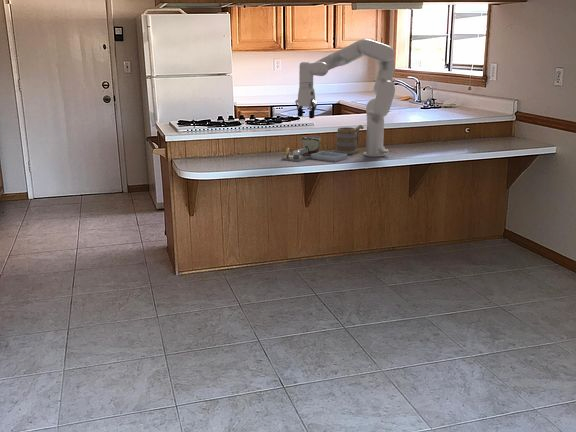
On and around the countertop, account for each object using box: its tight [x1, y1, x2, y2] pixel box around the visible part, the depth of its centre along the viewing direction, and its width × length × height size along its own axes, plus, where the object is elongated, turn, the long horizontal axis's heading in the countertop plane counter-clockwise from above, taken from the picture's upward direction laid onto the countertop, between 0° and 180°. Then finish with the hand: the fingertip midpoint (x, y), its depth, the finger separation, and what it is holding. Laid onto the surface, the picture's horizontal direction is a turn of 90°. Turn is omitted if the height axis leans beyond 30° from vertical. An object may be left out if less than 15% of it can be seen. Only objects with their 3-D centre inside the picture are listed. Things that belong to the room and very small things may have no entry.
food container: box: [300, 135, 322, 156], centre depth 348 cm, size 12×6×10 cm, turn 59°
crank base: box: [281, 147, 312, 163], centre depth 334 cm, size 13×12×6 cm
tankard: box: [334, 124, 364, 155], centre depth 353 cm, size 20×13×15 cm, turn 126°
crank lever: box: [292, 146, 309, 157], centre depth 337 cm, size 13×4×5 cm, turn 142°
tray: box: [310, 150, 348, 163], centre depth 334 cm, size 16×12×2 cm
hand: (305, 117), depth 332 cm, fingers open, 9 cm apart
